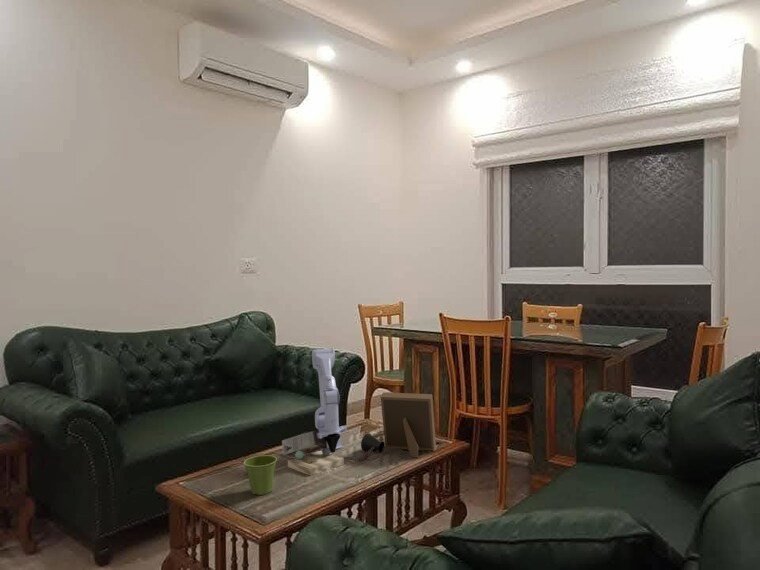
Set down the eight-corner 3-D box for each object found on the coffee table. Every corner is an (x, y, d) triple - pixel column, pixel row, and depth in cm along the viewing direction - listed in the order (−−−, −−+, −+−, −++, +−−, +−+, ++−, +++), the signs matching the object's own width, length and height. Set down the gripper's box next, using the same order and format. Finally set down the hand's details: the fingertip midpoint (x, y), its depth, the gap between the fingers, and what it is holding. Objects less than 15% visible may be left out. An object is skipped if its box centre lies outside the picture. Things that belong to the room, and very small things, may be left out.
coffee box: (293, 442, 239) (325, 432, 234) (295, 457, 236) (327, 447, 231) (281, 440, 232) (313, 429, 227) (282, 455, 229) (316, 445, 224)
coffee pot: (369, 445, 249) (385, 451, 244) (345, 462, 234) (362, 469, 230) (370, 430, 247) (386, 435, 243) (345, 446, 233) (362, 452, 228)
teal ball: (300, 459, 228) (300, 450, 229) (305, 459, 226) (305, 450, 227) (293, 459, 226) (293, 451, 227) (298, 459, 224) (298, 450, 224)
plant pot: (263, 482, 208) (263, 452, 208) (285, 490, 201) (284, 458, 200) (237, 493, 199) (236, 461, 199) (258, 501, 192) (257, 468, 191)
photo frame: (387, 444, 250) (386, 389, 249) (435, 447, 244) (434, 391, 243) (378, 456, 236) (377, 397, 235) (429, 459, 230) (428, 399, 229)
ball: (326, 456, 231) (327, 447, 232) (331, 456, 229) (332, 448, 230) (319, 455, 229) (321, 446, 230) (324, 455, 227) (326, 447, 228)
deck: (320, 456, 237) (320, 450, 237) (344, 464, 226) (344, 458, 226) (287, 466, 225) (287, 460, 225) (310, 475, 214) (310, 469, 214)
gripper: (324, 424, 223) (325, 458, 224) (351, 417, 234) (351, 449, 234) (313, 421, 228) (314, 454, 229) (339, 414, 239) (340, 446, 239)
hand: (332, 451), depth 232 cm, fingers closed
